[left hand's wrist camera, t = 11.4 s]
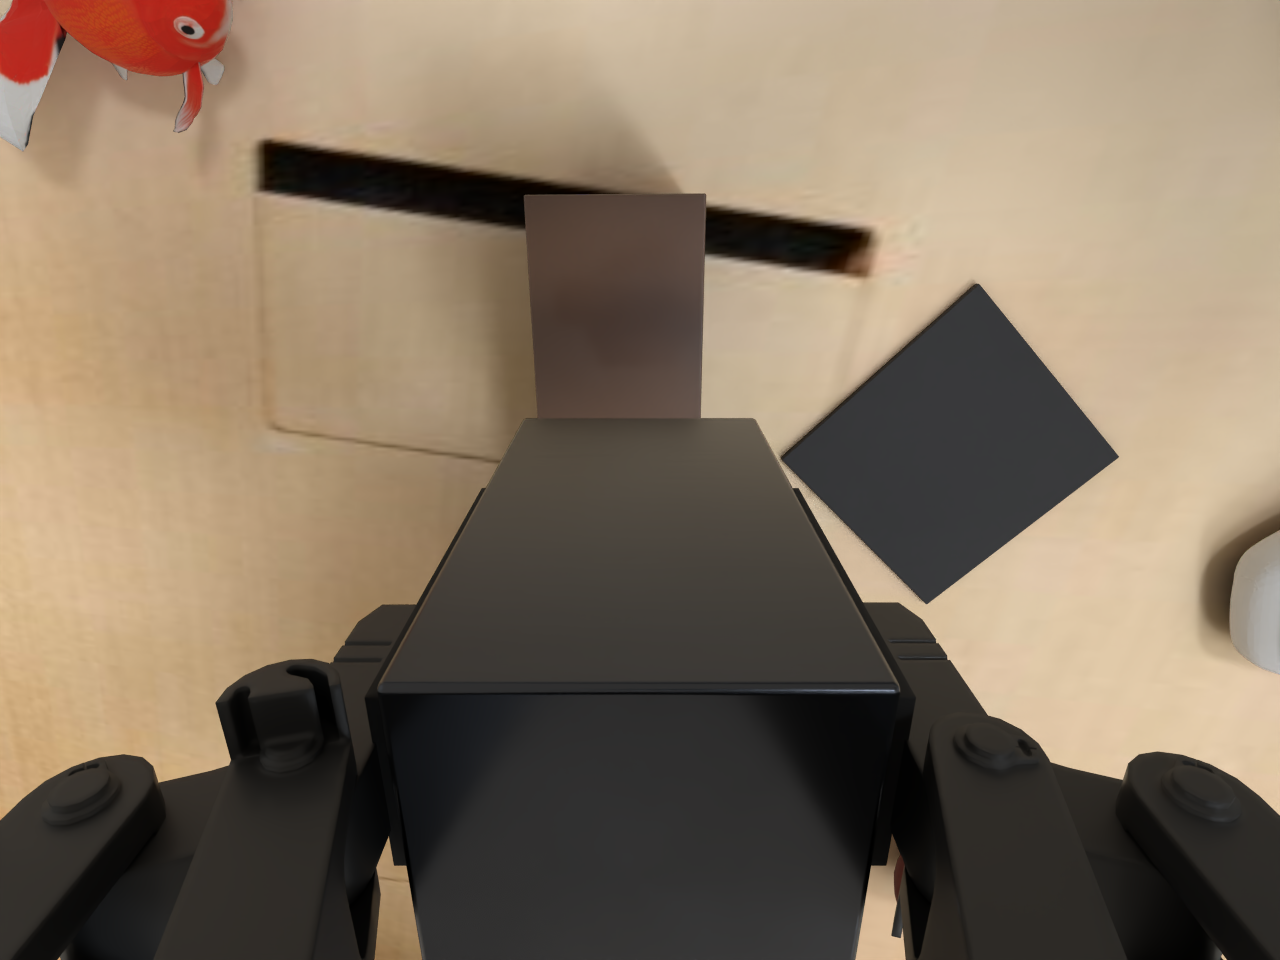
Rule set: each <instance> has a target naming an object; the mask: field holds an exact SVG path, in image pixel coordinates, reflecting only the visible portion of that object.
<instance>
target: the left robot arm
mask: <svg viewBox="0 0 1280 960" xmlns="http://www.w3.org/2000/svg"><path fill="white" fill-rule="evenodd" d="M485 489H486V488H482V489H481V491H480V493H479V494H478V496H477V498H476V500H475V502H474V503H473V505H472V507H471V509H470V510H469V512H468V514H467V516H466V518H465V519H464V521H463V523H462V525H461V526H460V528H459V530H458V532H457V534H456V535H455V537H454V539H453V541H452V542H451V544H450V546H449V548H448V550H447V551H446V553H445V555H444V557H443V558H442V560H441V562H440V564H439V566H438V567H437V569H436V571H435V573H434V574H433V576H432V578H431V580H430V582H429V583H428V585H427V587H426V589H425V590H424V592H423V594H422V596H421V598H420V599H419V601H418V603H417V605H381V606H380V607H379V608H377V609H376V610H374V611H373V612H372V613H370V614H369V615H367V616H366V617H365V618H363V619H362V620H360V621H359V622H358V623H357V625H356V626H355V628H354V629H353V631H352V632H351V634H350V635H349V637H348V638H347V640H346V641H345V646H342V647H341V648H340V650H339V651H338V653H337V654H336V656H335V657H334V662H331V663H330V664H329V663H326V662H322V661H318V660H314V659H297V660H287V661H283V662H279V663H275V664H271V665H267V666H265V667H262V668H260V669H258V670H256V671H253V672H251V673H249V674H247V675H245V676H243V677H242V678H240V679H239V680H238V681H236V682H235V683H233V684H232V685H231V686H229V687H228V688H227V689H226V690H225V691H224V692H223V694H222V695H221V696H220V698H219V699H218V700H217V702H216V707H217V710H218V714H219V718H220V721H221V725H222V729H223V732H224V736H225V739H226V743H227V747H228V750H229V754H230V758H231V762H230V764H229V766H226V767H222V768H219V769H216V770H212V771H208V772H204V773H199V774H195V775H191V776H186V777H182V778H177V779H173V780H169V781H164V782H160V783H158V780H157V777H156V774H155V771H154V768H153V766H152V765H151V764H150V763H149V762H148V761H146V760H145V759H144V758H143V757H137V756H131V755H125V754H123V755H116V756H108V757H101V758H97V759H94V760H91V761H88V762H85V763H82V764H79V765H76V766H73V767H71V768H69V769H67V770H65V771H64V772H62V773H60V774H58V775H56V776H54V777H52V778H50V779H49V780H47V781H45V782H44V783H42V784H41V785H40V786H38V787H37V788H36V789H35V790H33V791H32V792H31V793H30V794H28V795H27V796H26V797H24V798H23V799H22V800H21V801H20V802H19V803H18V804H17V805H16V806H15V807H14V808H13V809H12V810H11V811H10V812H9V813H8V814H7V815H6V816H5V817H4V818H2V819H1V820H0V960H58V958H59V957H60V958H61V960H374V958H375V947H376V937H377V927H378V916H379V906H380V895H381V894H380V887H379V880H378V875H377V869H376V866H377V864H378V861H379V859H380V856H381V854H382V851H383V849H384V846H385V844H386V841H387V839H388V836H389V839H390V845H391V851H392V856H393V862H394V866H406V860H405V854H404V848H403V842H402V836H401V830H400V824H399V818H398V812H397V806H396V800H395V794H394V789H393V783H392V777H391V771H390V765H389V759H388V753H387V747H386V741H385V735H384V729H383V723H382V717H381V711H380V706H379V700H378V694H377V687H378V685H379V682H380V680H381V678H382V677H383V675H384V673H385V671H386V669H387V667H388V666H389V664H390V662H391V660H392V658H393V657H394V655H395V653H396V651H397V649H398V647H399V646H400V644H401V642H402V640H403V638H404V637H405V635H406V633H407V631H408V629H409V627H410V626H411V624H412V622H413V620H414V618H415V616H416V615H417V613H418V611H419V609H420V607H421V606H422V604H423V602H424V600H425V598H426V596H427V595H428V593H429V591H430V589H431V587H432V586H433V584H434V582H435V580H436V578H437V576H438V575H439V573H440V571H441V569H442V567H443V565H444V564H445V562H446V560H447V558H448V556H449V555H450V553H451V551H452V549H453V547H454V545H455V544H456V542H457V540H458V538H459V536H460V535H461V533H462V531H463V529H464V527H465V525H466V524H467V522H468V520H469V518H470V516H471V514H472V513H473V511H474V509H475V507H476V505H477V504H478V502H479V500H480V498H481V496H482V494H483V493H484V491H485ZM793 490H794V492H795V494H796V495H797V497H798V499H799V501H800V503H801V505H802V506H803V508H804V510H805V512H806V514H807V516H808V518H809V519H810V521H811V523H812V525H813V527H814V529H815V530H816V532H817V534H818V536H819V538H820V540H821V541H822V543H823V545H824V547H825V549H826V551H827V553H828V554H829V556H830V558H831V560H832V562H833V564H834V565H835V567H836V569H837V571H838V573H839V575H840V577H841V578H842V580H843V582H844V584H845V586H846V588H847V589H848V591H849V593H850V595H851V597H852V599H853V600H854V602H855V604H856V606H857V608H858V610H859V612H860V613H861V615H862V617H863V619H864V621H865V623H866V624H867V626H868V628H869V630H870V632H871V634H872V636H873V637H874V639H875V641H876V643H877V645H878V647H879V648H880V650H881V652H882V654H883V656H884V658H885V660H886V661H887V663H888V665H889V667H890V669H891V671H892V672H893V674H894V676H895V678H896V680H897V682H898V684H899V687H900V696H899V702H898V708H897V714H896V720H895V726H894V732H893V738H892V743H891V749H890V755H889V761H888V767H887V773H886V779H885V785H884V791H883V797H882V803H881V809H880V815H879V821H878V827H877V833H876V839H875V845H874V851H873V857H872V863H871V866H886V864H887V859H888V853H889V848H890V842H891V836H892V834H893V837H894V839H895V842H896V844H897V847H898V849H899V852H900V854H901V857H902V859H903V862H904V869H903V875H902V880H901V885H900V890H899V896H898V901H897V906H896V911H895V917H894V922H893V929H892V936H894V937H898V938H901V934H902V928H903V935H904V946H905V956H906V960H1223V959H1222V958H1221V955H1222V954H1223V955H1224V956H1225V958H1226V959H1227V960H1280V815H1279V814H1277V813H1276V812H1275V811H1274V810H1273V809H1272V808H1271V807H1270V806H1269V805H1268V804H1267V803H1266V802H1265V801H1264V800H1263V799H1262V798H1261V797H1260V796H1259V795H1257V794H1256V793H1255V792H1254V791H1252V790H1251V789H1250V788H1248V787H1247V786H1246V785H1245V784H1243V783H1242V782H1241V781H1239V780H1238V779H1237V778H1235V777H1233V776H1231V775H1229V774H1227V773H1226V772H1224V771H1222V770H1220V769H1218V768H1216V767H1214V766H1212V765H1210V764H1208V763H1205V762H1202V761H1200V760H1196V759H1193V758H1190V757H1187V756H1184V755H1179V754H1172V753H1165V752H1152V753H1145V754H1139V755H1138V756H1137V757H1135V758H1134V759H1133V760H1132V761H1131V762H1129V763H1128V766H1127V769H1126V772H1125V775H1124V779H1123V780H1120V779H1116V778H1111V777H1107V776H1102V775H1098V774H1094V773H1089V772H1085V771H1080V770H1076V769H1072V768H1068V767H1064V766H1061V765H1058V764H1054V763H1051V762H1050V761H1049V759H1048V757H1047V756H1046V754H1045V753H1044V751H1043V750H1042V748H1041V747H1040V745H1039V744H1038V743H1037V742H1036V741H1035V740H1034V739H1032V738H1031V737H1030V736H1029V735H1027V734H1026V733H1025V732H1024V731H1022V730H1021V729H1019V728H1017V727H1015V726H1013V725H1011V724H1009V723H1007V722H1005V721H1003V720H1001V719H999V718H995V717H991V716H988V715H987V713H986V712H985V711H984V709H983V708H982V706H981V705H980V703H979V702H978V700H977V699H976V697H975V696H974V694H973V693H972V692H971V690H970V689H969V687H968V686H967V684H966V683H965V681H964V680H963V678H962V677H961V675H960V674H959V673H958V671H957V670H956V668H955V667H954V665H953V664H952V662H951V661H950V660H947V655H946V654H945V652H944V651H943V649H942V648H941V646H940V645H939V643H936V639H935V637H934V636H933V634H932V633H931V632H930V630H929V629H928V627H927V626H926V624H925V623H924V621H923V620H922V619H921V618H919V617H918V616H917V615H915V614H914V613H912V612H911V611H909V610H908V609H907V608H905V607H904V606H902V605H901V604H900V603H863V602H862V600H861V598H860V597H859V595H858V593H857V591H856V590H855V588H854V586H853V584H852V582H851V581H850V579H849V577H848V575H847V574H846V572H845V570H844V568H843V566H842V565H841V563H840V561H839V559H838V558H837V556H836V554H835V552H834V550H833V549H832V547H831V545H830V543H829V542H828V540H827V538H826V536H825V534H824V533H823V531H822V529H821V527H820V526H819V524H818V522H817V520H816V519H815V517H814V515H813V513H812V511H811V510H810V508H809V506H808V504H807V503H806V501H805V499H804V497H803V495H802V494H801V492H800V490H799V488H793Z"/></svg>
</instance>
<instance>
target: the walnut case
mask: <svg viewBox="0 0 1280 960" xmlns="http://www.w3.org/2000/svg"><path fill="white" fill-rule="evenodd" d="M524 208H525V224H526V240H527V255H528V271H529V287H530V303H531V319H532V335H533V351H534V366H535V382H536V398H537V414H538V418H701V381H702V341H703V301H704V262H705V222H706V194H596V195H524Z"/></svg>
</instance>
